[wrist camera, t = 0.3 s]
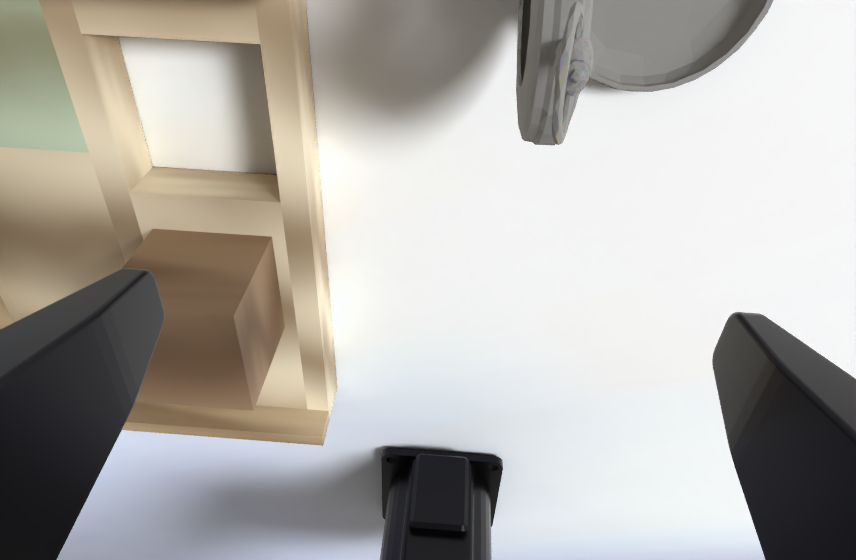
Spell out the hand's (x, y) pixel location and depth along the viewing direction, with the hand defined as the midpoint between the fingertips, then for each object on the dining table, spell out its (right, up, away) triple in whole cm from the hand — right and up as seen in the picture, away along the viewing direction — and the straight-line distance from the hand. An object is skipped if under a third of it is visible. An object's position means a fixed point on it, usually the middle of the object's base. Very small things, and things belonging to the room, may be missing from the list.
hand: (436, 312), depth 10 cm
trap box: (-11, +3, +15) cm, 19 cm away
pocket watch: (+6, +10, +9) cm, 14 cm away
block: (-8, +1, +15) cm, 17 cm away
